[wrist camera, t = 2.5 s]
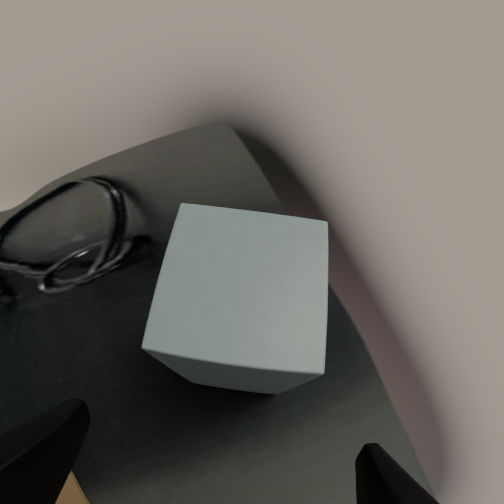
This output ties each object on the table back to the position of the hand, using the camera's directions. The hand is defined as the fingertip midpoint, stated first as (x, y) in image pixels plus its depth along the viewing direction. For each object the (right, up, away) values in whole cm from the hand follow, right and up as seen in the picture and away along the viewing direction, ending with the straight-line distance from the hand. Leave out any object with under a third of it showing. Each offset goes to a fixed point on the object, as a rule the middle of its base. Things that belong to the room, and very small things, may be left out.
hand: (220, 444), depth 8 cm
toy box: (0, -1, +13) cm, 13 cm away
